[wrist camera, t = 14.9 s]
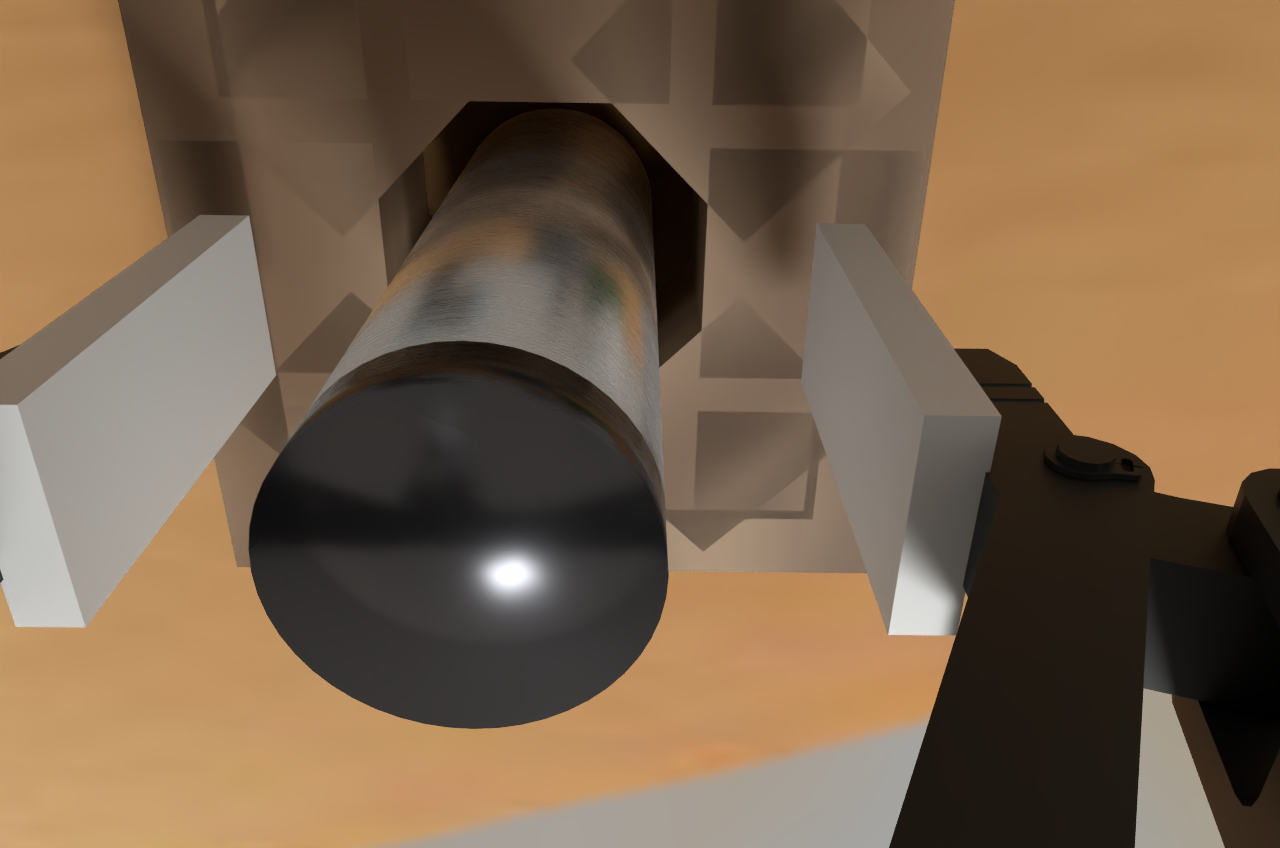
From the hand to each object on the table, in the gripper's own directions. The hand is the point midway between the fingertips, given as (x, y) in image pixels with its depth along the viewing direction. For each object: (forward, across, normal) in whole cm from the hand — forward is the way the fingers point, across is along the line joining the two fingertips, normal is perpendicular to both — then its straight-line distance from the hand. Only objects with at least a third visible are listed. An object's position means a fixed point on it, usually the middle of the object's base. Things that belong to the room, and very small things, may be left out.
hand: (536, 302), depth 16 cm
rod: (+6, 0, 0) cm, 6 cm away
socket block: (+6, 0, 0) cm, 6 cm away
